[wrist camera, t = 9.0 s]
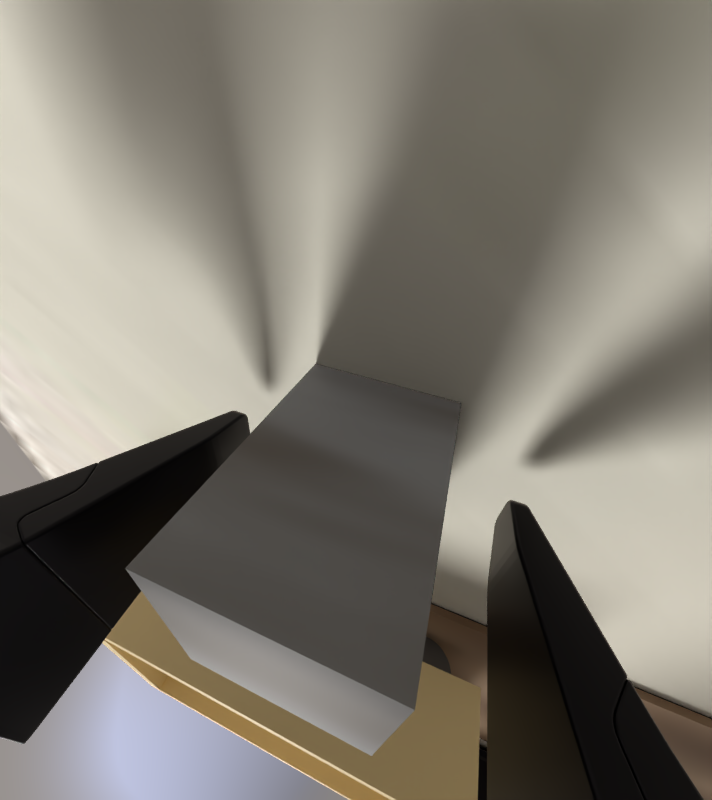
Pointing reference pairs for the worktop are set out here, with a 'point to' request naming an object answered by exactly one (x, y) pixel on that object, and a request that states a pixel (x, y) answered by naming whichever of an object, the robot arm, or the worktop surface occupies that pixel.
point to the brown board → (682, 729)
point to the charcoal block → (316, 554)
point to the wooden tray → (311, 746)
